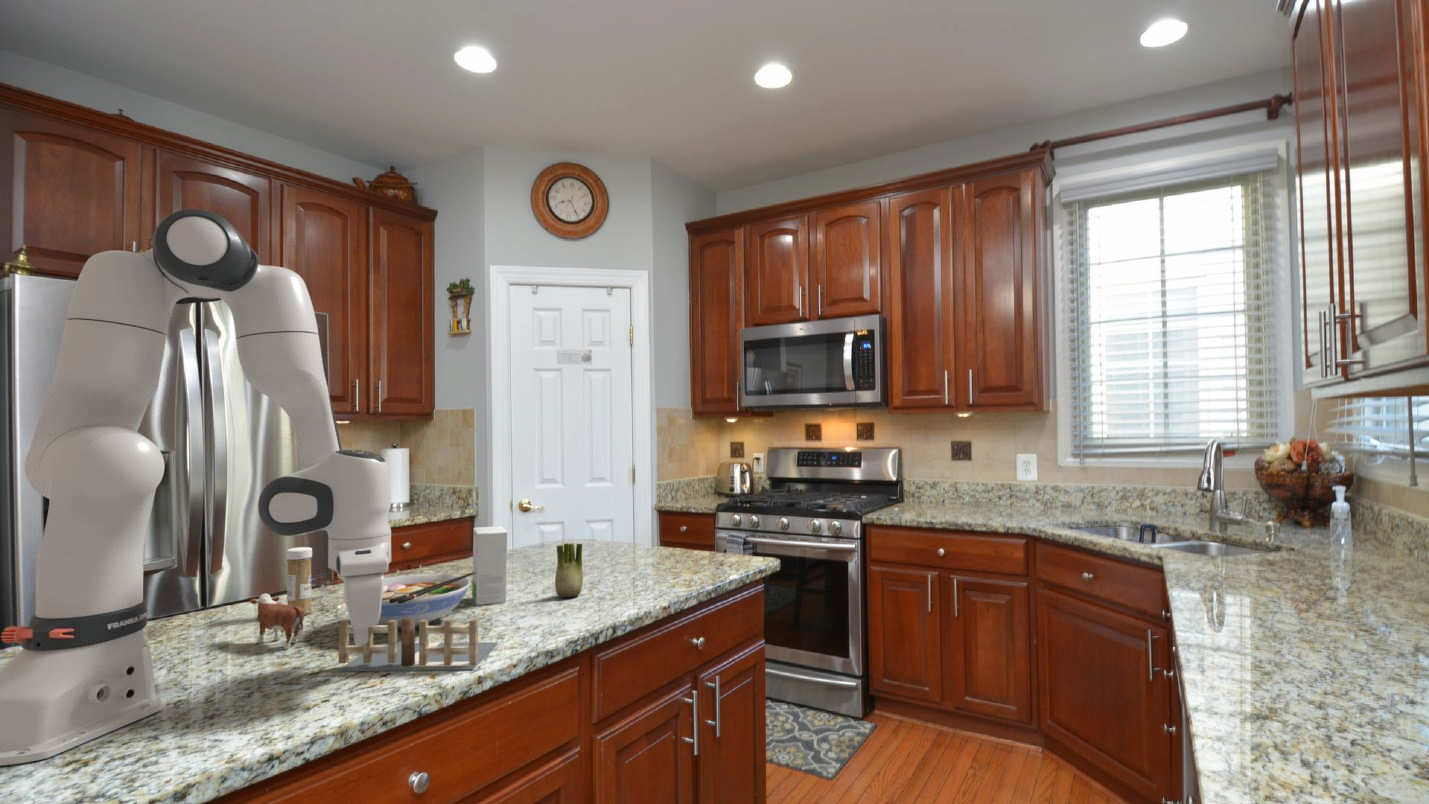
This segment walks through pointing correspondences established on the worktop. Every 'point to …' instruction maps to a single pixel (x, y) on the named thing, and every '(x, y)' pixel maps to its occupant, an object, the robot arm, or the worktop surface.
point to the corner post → (408, 642)
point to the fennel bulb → (569, 570)
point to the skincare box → (489, 565)
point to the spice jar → (299, 578)
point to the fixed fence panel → (448, 641)
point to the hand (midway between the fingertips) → (360, 642)
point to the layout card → (433, 660)
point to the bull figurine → (279, 618)
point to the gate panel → (368, 647)
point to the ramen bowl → (421, 596)
